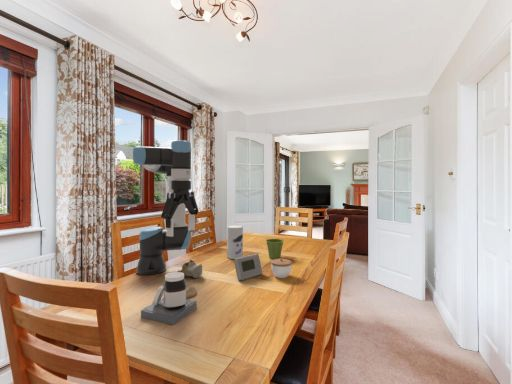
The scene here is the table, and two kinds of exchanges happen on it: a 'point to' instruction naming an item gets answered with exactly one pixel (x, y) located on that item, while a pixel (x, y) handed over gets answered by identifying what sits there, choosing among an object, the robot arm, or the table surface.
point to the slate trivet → (167, 312)
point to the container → (234, 242)
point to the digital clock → (248, 266)
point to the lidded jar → (281, 267)
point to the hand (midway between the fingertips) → (181, 232)
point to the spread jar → (172, 291)
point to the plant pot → (274, 248)
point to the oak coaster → (190, 292)
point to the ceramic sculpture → (191, 269)
